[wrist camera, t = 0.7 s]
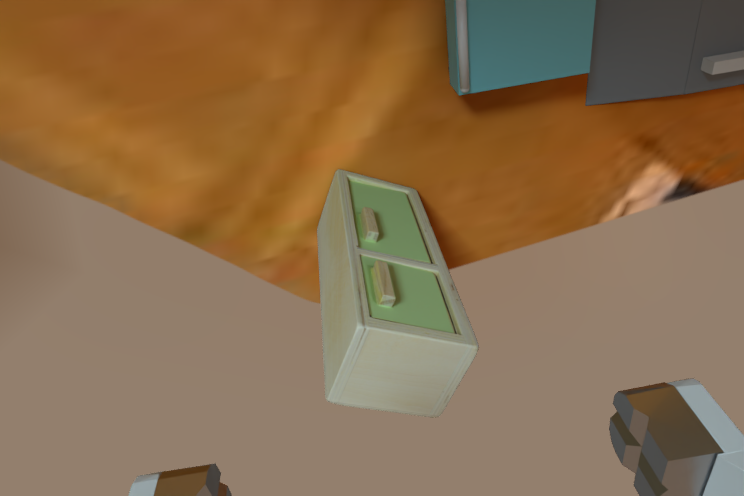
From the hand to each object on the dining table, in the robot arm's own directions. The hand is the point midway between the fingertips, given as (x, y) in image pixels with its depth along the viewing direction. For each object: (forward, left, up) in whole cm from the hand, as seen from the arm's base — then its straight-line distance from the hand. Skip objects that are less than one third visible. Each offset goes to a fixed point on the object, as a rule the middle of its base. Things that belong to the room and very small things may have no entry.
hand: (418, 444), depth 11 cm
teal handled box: (+1, +13, -36) cm, 39 cm away
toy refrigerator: (+15, 0, -37) cm, 39 cm away
